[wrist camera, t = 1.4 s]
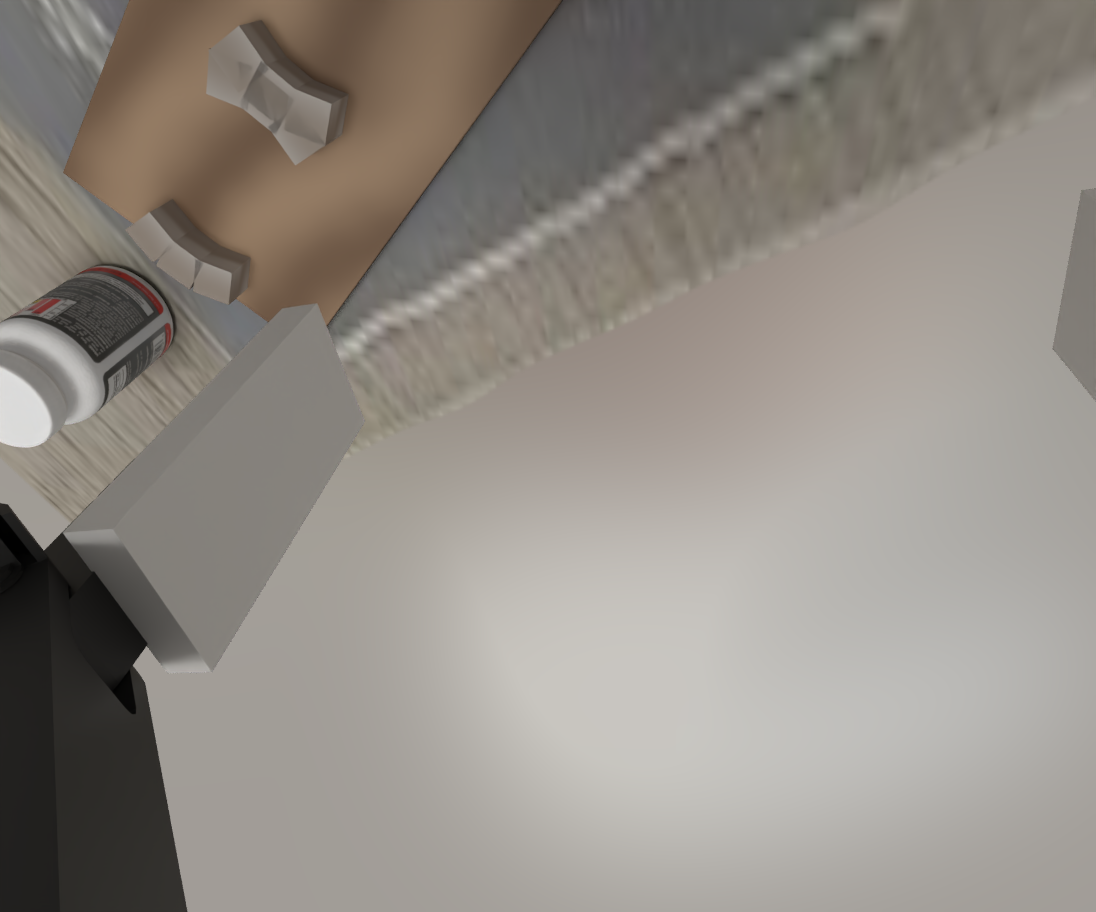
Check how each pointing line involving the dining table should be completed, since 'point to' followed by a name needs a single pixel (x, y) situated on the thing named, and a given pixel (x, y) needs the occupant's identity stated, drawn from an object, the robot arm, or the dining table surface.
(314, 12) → the board
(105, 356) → the pill bottle
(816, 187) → the dining table surface
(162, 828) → the robot arm
